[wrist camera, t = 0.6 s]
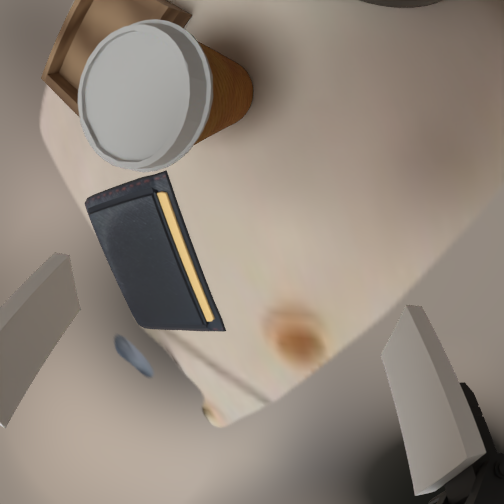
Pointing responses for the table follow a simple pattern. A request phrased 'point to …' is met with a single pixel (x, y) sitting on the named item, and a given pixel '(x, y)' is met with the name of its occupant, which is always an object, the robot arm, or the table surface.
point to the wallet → (153, 255)
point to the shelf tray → (96, 37)
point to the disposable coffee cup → (157, 95)
